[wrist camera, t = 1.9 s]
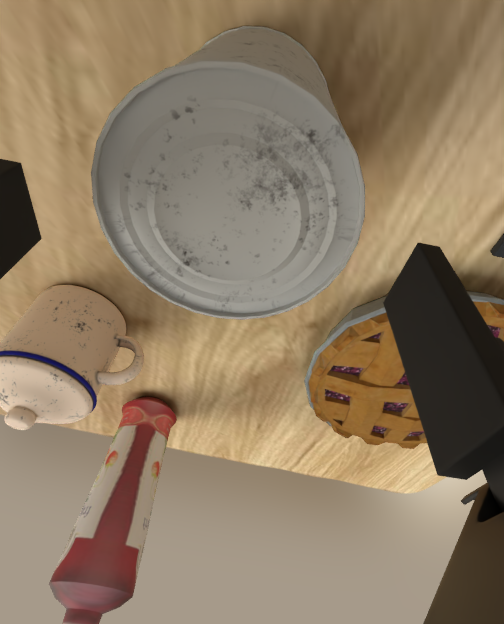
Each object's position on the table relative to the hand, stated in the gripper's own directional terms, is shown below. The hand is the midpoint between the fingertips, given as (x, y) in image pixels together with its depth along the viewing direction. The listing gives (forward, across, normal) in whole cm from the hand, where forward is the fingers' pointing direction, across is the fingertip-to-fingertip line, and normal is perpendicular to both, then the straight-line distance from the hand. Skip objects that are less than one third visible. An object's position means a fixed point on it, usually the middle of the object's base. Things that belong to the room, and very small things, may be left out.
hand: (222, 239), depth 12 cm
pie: (+13, +20, -17) cm, 29 cm away
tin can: (+13, 0, 0) cm, 13 cm away
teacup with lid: (+13, -12, -20) cm, 27 cm away
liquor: (+14, -7, -35) cm, 38 cm away
